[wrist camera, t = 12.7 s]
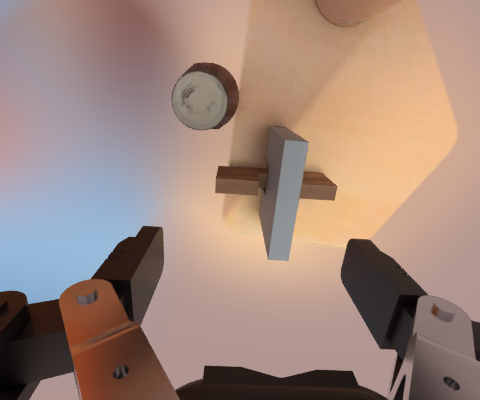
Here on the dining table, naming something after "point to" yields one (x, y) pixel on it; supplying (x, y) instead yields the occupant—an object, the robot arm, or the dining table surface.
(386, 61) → the dining table surface
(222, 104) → the sauce bottle
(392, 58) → the dining table surface
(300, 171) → the grey block
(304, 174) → the walnut board
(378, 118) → the dining table surface
